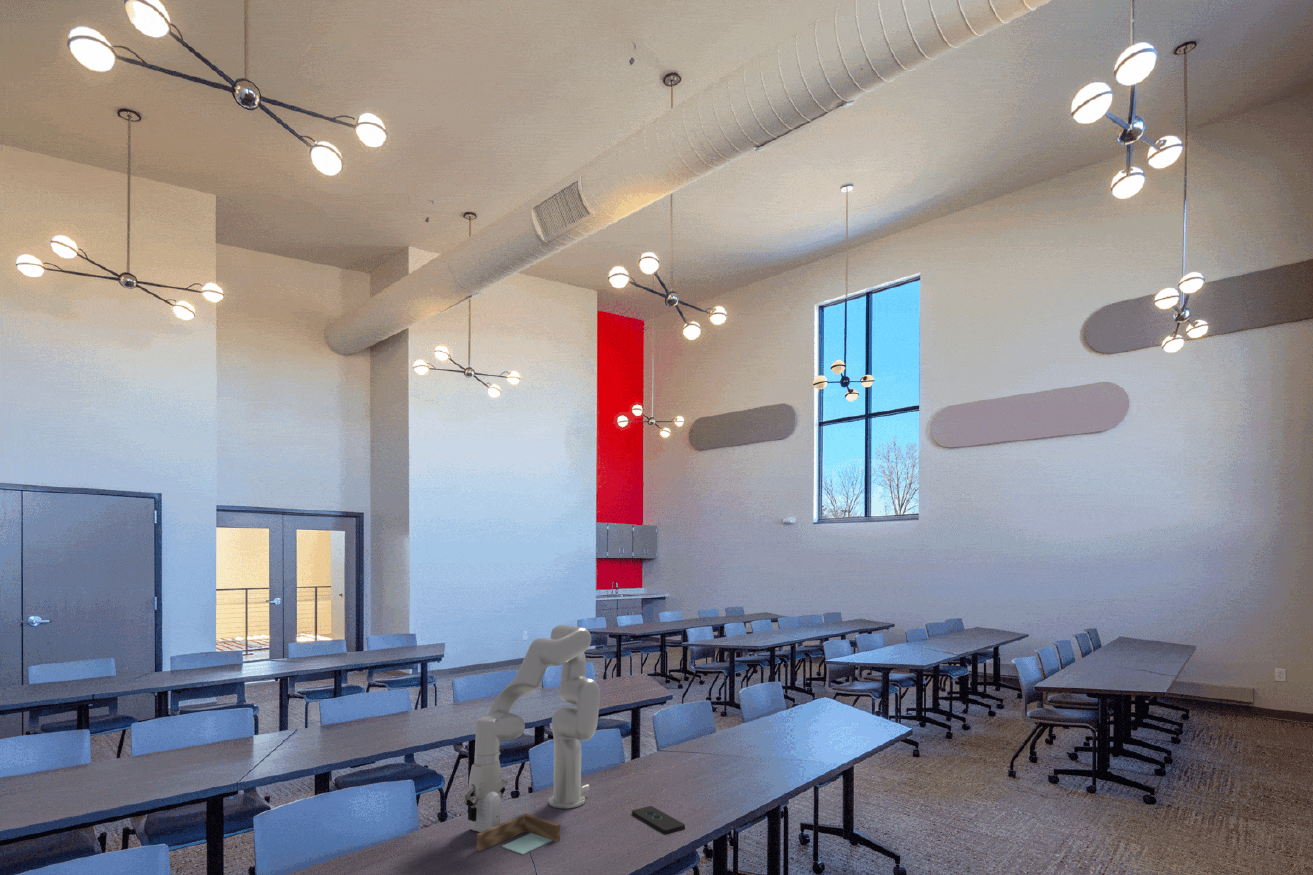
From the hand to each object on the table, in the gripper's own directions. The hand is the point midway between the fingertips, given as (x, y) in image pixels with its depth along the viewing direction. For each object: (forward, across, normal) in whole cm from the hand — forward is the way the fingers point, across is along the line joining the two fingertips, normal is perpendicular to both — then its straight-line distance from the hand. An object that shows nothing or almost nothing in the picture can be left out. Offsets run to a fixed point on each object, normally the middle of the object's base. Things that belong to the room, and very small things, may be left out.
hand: (484, 815), depth 225 cm
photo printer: (+5, 0, 0) cm, 5 cm away
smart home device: (+5, -39, +40) cm, 55 cm away
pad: (+4, -1, +18) cm, 19 cm away
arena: (+5, +1, +17) cm, 17 cm away
